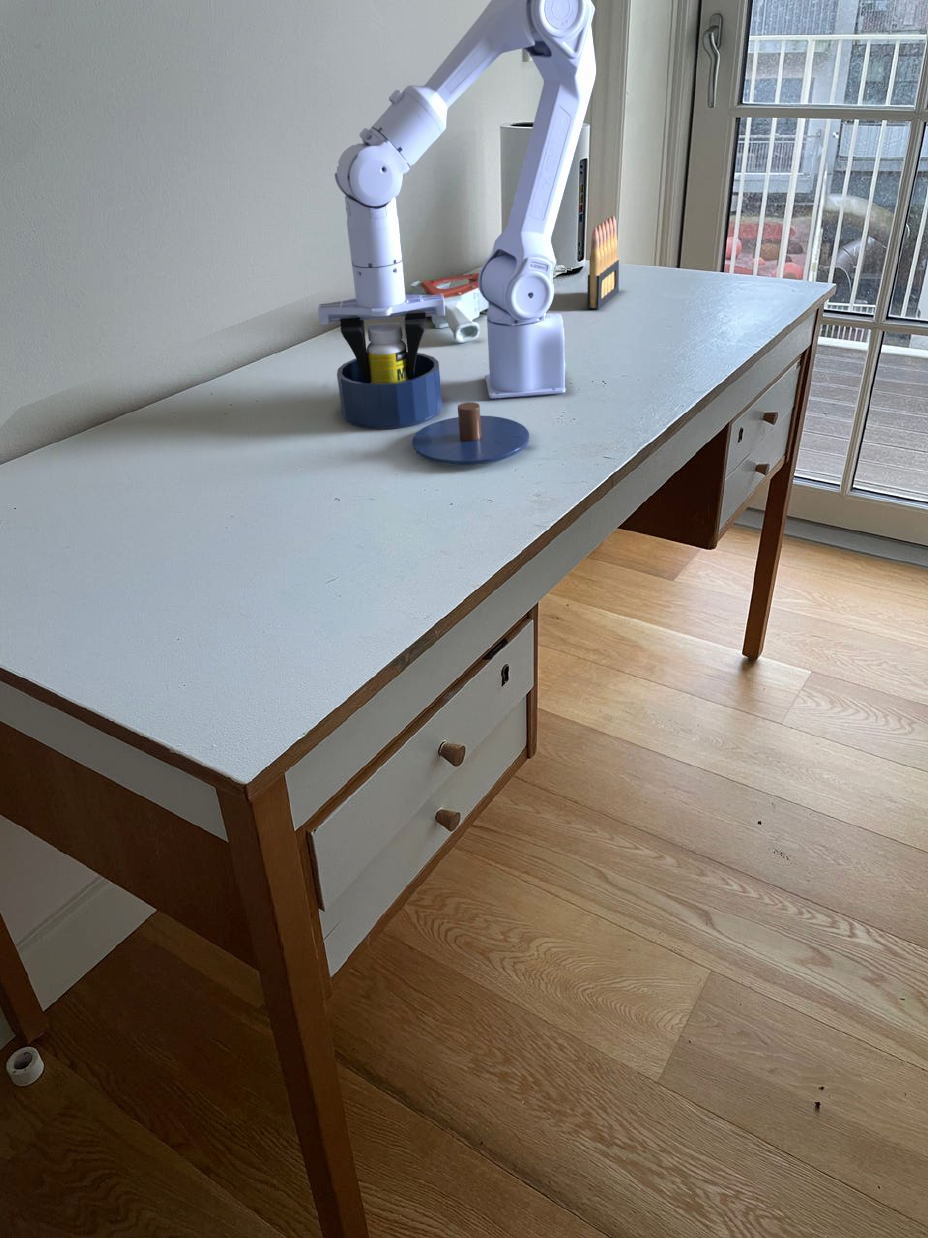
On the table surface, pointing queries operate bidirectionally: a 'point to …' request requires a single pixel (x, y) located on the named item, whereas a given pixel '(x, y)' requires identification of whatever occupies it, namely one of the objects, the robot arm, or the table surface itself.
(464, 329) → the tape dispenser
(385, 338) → the supplement bottle
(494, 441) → the tin lid
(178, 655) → the table surface
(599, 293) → the ammunition clip
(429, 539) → the table surface
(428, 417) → the tin
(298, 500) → the table surface
